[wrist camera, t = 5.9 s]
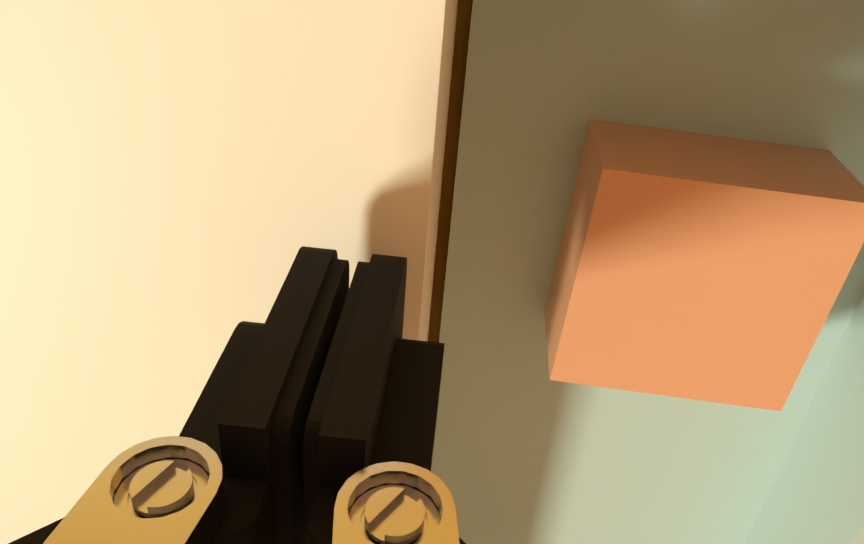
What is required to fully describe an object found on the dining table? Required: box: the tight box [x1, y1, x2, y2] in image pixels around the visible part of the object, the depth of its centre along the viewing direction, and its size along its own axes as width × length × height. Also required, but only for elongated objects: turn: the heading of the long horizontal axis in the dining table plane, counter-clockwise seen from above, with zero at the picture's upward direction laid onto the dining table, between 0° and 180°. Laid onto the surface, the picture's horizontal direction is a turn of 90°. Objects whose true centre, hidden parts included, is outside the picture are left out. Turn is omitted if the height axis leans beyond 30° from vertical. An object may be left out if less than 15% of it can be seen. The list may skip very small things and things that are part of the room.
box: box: [431, 0, 864, 544], centre depth 18 cm, size 26×11×4 cm, turn 176°
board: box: [0, 0, 458, 544], centre depth 18 cm, size 26×12×5 cm, turn 176°
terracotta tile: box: [544, 119, 864, 411], centre depth 15 cm, size 5×5×2 cm
